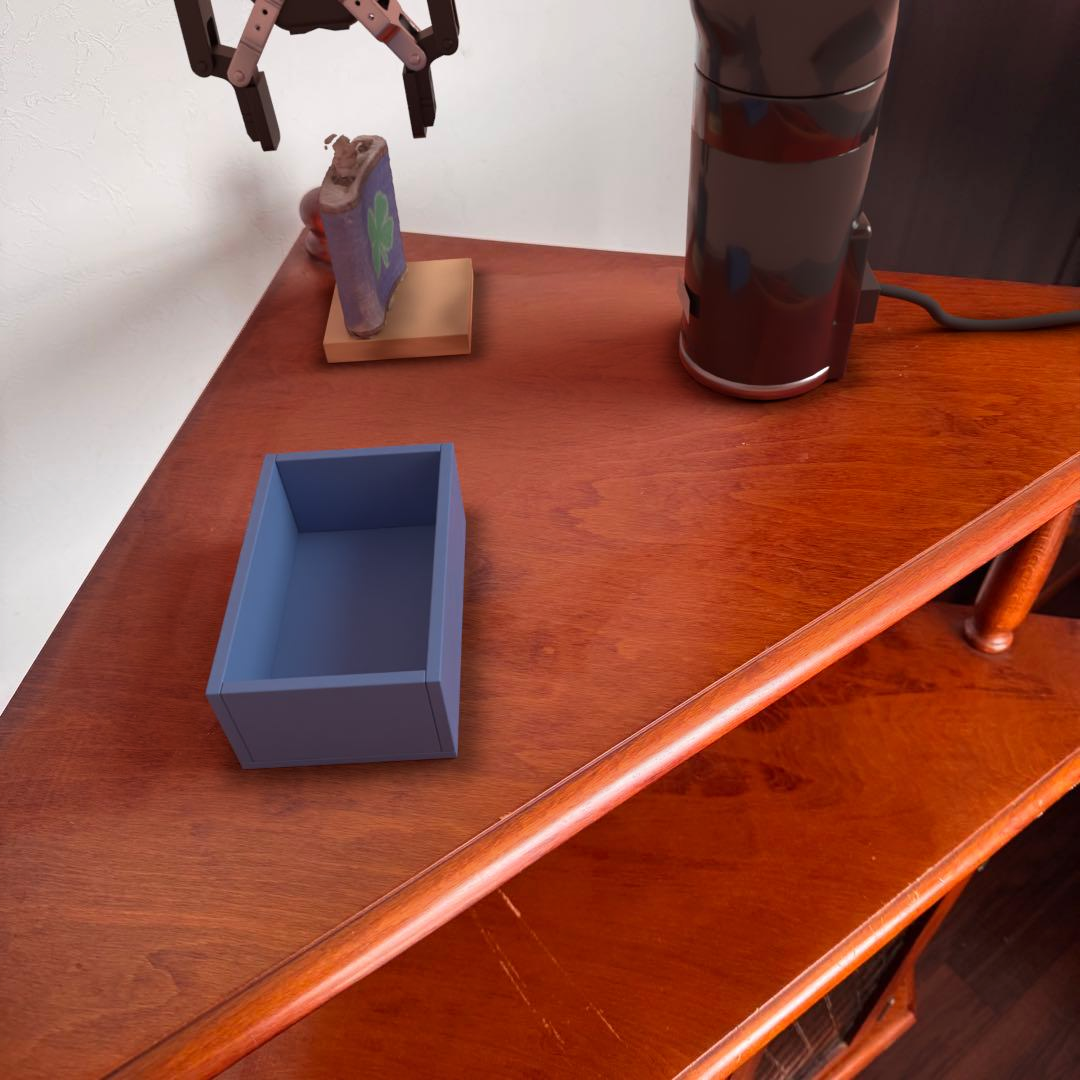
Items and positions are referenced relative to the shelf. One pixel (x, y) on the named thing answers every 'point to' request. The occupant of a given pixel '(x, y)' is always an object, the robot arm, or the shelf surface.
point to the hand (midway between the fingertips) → (346, 139)
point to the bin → (346, 611)
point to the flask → (362, 231)
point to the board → (413, 317)
